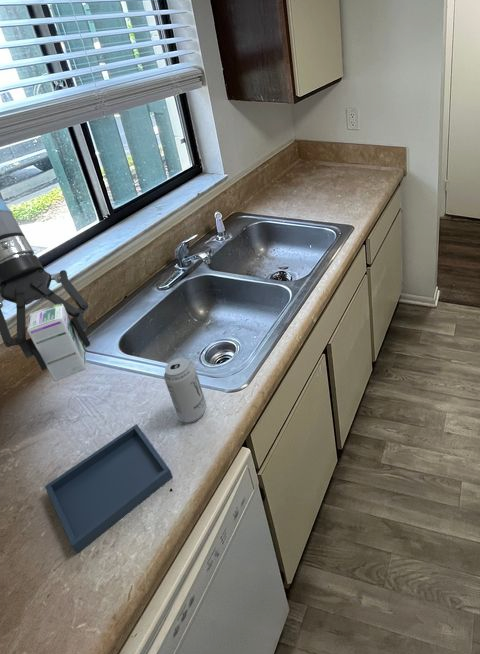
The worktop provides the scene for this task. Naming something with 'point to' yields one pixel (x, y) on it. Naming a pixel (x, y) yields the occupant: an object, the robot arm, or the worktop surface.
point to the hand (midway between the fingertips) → (66, 356)
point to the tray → (107, 486)
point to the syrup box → (57, 341)
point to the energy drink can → (185, 389)
